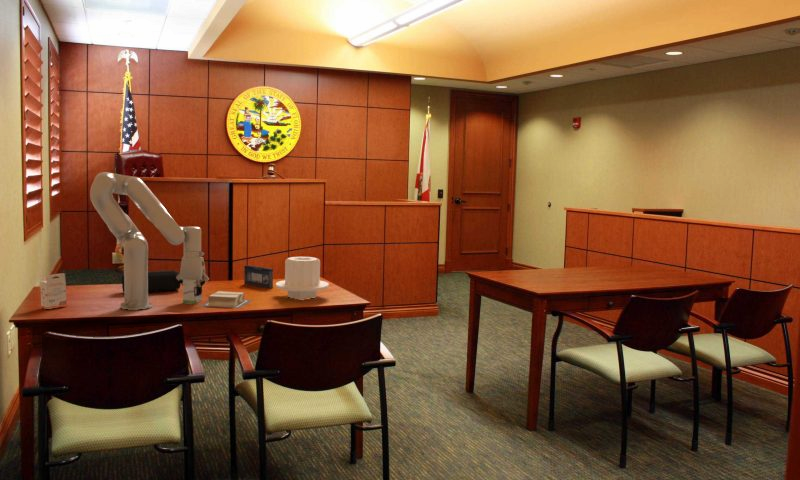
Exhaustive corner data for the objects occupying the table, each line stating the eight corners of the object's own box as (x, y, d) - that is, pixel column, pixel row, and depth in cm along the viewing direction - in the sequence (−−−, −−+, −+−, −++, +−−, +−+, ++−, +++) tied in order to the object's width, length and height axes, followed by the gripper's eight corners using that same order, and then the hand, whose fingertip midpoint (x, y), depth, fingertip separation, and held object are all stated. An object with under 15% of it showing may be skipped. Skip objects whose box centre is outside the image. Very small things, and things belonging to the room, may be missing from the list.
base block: (235, 306, 295) (235, 297, 294) (208, 305, 296) (208, 296, 295) (244, 301, 306) (244, 292, 306) (218, 299, 308) (218, 291, 307)
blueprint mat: (239, 310, 291) (239, 308, 291) (199, 308, 293) (199, 305, 293) (252, 302, 309) (252, 299, 309) (214, 300, 311) (214, 297, 311)
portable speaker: (177, 288, 336) (176, 268, 335) (180, 292, 327) (180, 271, 326) (121, 291, 324) (121, 271, 323) (124, 295, 315) (124, 274, 314)
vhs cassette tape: (243, 284, 353) (244, 265, 352) (248, 283, 355) (248, 264, 354) (268, 289, 342) (269, 269, 341) (273, 288, 345) (273, 268, 344)
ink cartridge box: (60, 305, 290) (59, 271, 289) (66, 307, 288) (66, 272, 286) (40, 308, 283) (39, 274, 281) (47, 310, 281) (46, 275, 279)
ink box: (192, 302, 305) (191, 276, 304) (202, 302, 304) (202, 277, 303) (182, 305, 297) (182, 279, 296) (193, 306, 296) (192, 280, 295)
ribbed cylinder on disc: (265, 296, 322) (265, 257, 320) (305, 290, 341) (306, 253, 338) (297, 305, 306) (298, 264, 303) (339, 298, 324) (340, 259, 322)
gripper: (214, 254, 301) (214, 294, 303) (177, 252, 303) (177, 292, 305) (207, 256, 294) (207, 297, 296) (170, 254, 295) (170, 295, 297)
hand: (192, 294), depth 300 cm, fingers closed on ink box, 5 cm apart
